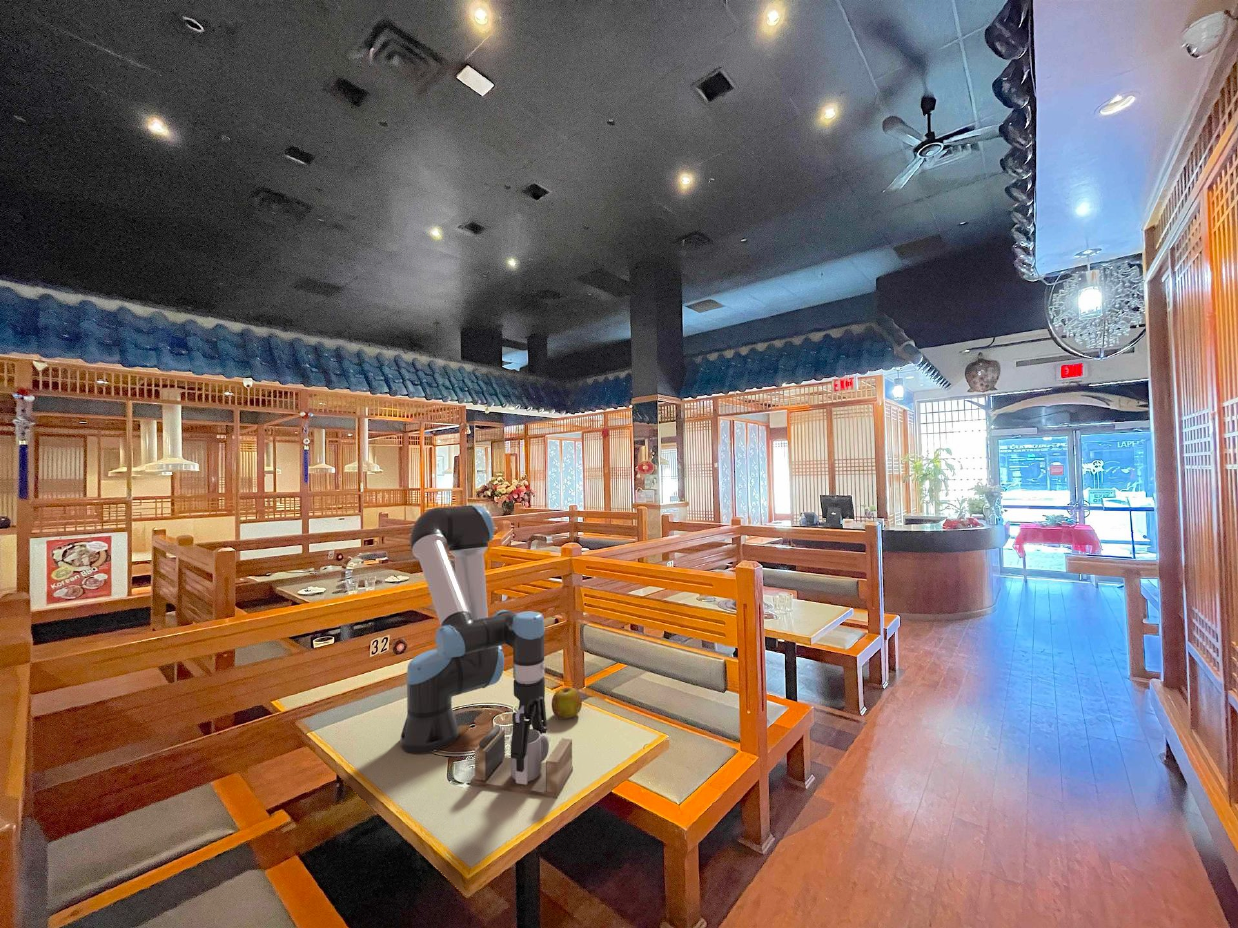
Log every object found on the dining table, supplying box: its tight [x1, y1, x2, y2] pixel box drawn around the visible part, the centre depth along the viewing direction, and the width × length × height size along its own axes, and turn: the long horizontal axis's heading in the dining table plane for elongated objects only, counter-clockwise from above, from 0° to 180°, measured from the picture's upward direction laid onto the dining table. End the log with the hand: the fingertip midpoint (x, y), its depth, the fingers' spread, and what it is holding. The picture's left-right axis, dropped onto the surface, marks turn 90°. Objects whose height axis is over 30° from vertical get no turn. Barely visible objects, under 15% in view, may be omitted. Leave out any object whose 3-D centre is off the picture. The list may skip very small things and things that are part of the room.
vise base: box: [469, 737, 574, 799], centre depth 123 cm, size 22×11×8 cm, turn 76°
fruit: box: [551, 687, 583, 720], centre depth 153 cm, size 10×9×8 cm
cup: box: [509, 728, 550, 781], centre depth 123 cm, size 7×10×9 cm
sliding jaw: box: [474, 724, 506, 780], centre depth 125 cm, size 3×10×9 cm, turn 166°
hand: (530, 770), depth 122 cm, fingers closed on cup, 8 cm apart
